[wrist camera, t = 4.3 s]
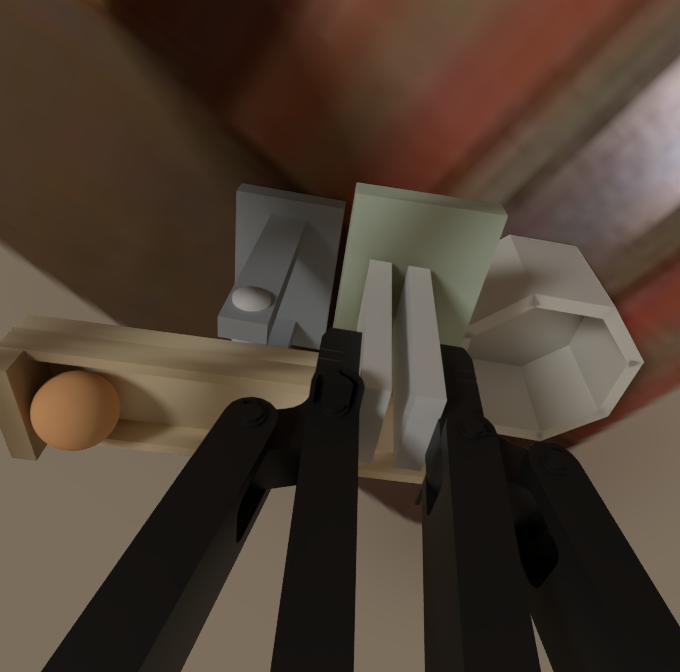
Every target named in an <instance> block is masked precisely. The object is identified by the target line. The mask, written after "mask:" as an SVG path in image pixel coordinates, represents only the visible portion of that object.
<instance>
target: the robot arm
mask: <svg viewBox="0 0 680 672" xmlns="http://www.w3.org/2000/svg"><path fill="white" fill-rule="evenodd" d="M474 372H475V370H474V365H473V360H472V358H471V357H470V356H469V354H468V353H467V352H466V350H465V349H464V348H463V347H457V346H450V345H444V344H440V342H439V334H438V327H437V319H436V311H435V304H434V296H433V288H432V280H431V273H430V269H426V268H420V267H414V266H408V270H407V274H406V278H405V282H404V286H403V290H402V294H401V298H400V302H399V306H398V310H397V314H396V317H395V321H394V325H393V467H397V468H404V469H410V470H417V471H421V469H422V466H423V463H424V461H425V463H426V474H425V477H424V480H423V482H422V485H421V487H420V490H419V493H418V495H417V498H416V502H415V505H419V504H420V502H421V499H422V535H423V536H422V537H423V589H424V590H423V591H424V644H425V672H541V669H540V664H539V658H538V653H537V647H536V642H535V637H534V631H533V626H532V620H531V616H532V619H533V621H534V624H535V626H536V628H537V631H538V634H539V636H540V639H541V641H542V644H543V646H544V649H545V651H546V654H547V656H548V659H549V661H550V664H551V666H552V669H553V671H554V672H680V626H679V625H678V623H677V621H676V620H675V618H674V617H673V615H672V614H671V612H670V610H669V608H668V607H667V605H666V603H665V602H664V600H663V598H662V597H661V595H660V594H659V592H658V591H657V589H656V587H655V585H654V584H653V582H652V581H651V579H650V577H649V576H648V574H647V572H646V571H645V569H644V568H643V566H642V564H641V563H640V561H639V559H638V558H637V556H636V554H635V553H634V551H633V549H632V548H631V546H630V545H629V543H628V541H627V540H626V538H625V536H624V535H623V533H622V532H621V530H620V528H619V527H618V525H617V523H616V522H615V520H614V518H613V517H612V515H611V514H610V512H609V510H608V509H607V507H606V505H605V504H604V502H603V500H602V499H601V497H600V496H599V494H598V492H597V491H596V489H595V487H594V486H593V484H592V482H591V481H590V479H589V477H588V476H587V474H586V473H585V471H584V469H583V468H582V466H581V464H580V463H579V462H578V460H577V459H576V458H575V457H574V456H573V455H572V454H571V453H570V452H569V451H567V450H566V449H564V448H563V447H560V446H558V445H556V444H553V443H547V442H540V443H535V444H534V445H533V446H531V447H530V448H529V450H526V449H524V448H522V447H519V446H517V445H514V444H512V443H510V442H508V441H506V440H504V439H502V438H501V437H499V436H498V435H497V432H496V430H495V427H494V426H493V424H492V423H491V422H490V421H489V420H488V419H487V418H485V417H484V413H483V408H482V404H481V399H480V394H479V389H478V384H477V383H476V382H477V379H476V375H475V373H474ZM391 392H392V263H390V262H384V261H377V260H371V259H370V263H369V268H368V273H367V278H366V283H365V288H364V293H363V298H362V303H361V308H360V313H359V318H358V324H357V331H351V330H345V329H339V328H332V327H330V328H329V329H328V330H327V331H326V332H325V333H324V335H323V336H322V339H321V344H320V350H319V355H318V360H317V365H316V370H315V373H314V375H313V377H312V379H311V386H310V393H309V397H308V398H307V400H306V401H304V402H303V403H301V404H300V405H297V406H295V407H291V408H285V409H276V408H275V407H274V406H273V405H272V404H271V403H270V402H268V401H266V400H264V399H262V398H257V397H244V398H240V399H237V400H235V401H233V402H231V403H230V404H229V405H228V406H227V407H226V408H225V410H224V411H223V413H222V414H221V415H220V417H219V418H218V420H217V421H216V423H215V424H214V425H213V427H212V428H211V430H210V431H209V433H208V434H207V435H206V437H205V438H204V440H203V441H202V443H201V444H200V445H199V447H198V448H197V450H196V451H195V453H194V454H193V455H192V457H191V458H190V460H189V461H188V463H187V464H186V465H185V467H184V468H183V470H182V471H181V473H180V474H179V475H178V477H177V478H176V480H175V481H174V483H173V484H172V485H171V487H170V488H169V490H168V491H167V492H166V494H165V495H164V497H163V498H162V500H161V501H160V503H159V504H158V505H157V507H156V508H155V510H154V511H153V513H152V514H151V515H150V517H149V518H148V520H147V521H146V523H145V524H144V525H143V527H142V528H141V530H140V531H139V533H138V534H137V535H136V537H135V538H134V540H133V541H132V543H131V544H130V546H129V547H128V548H127V550H126V551H125V552H124V554H123V555H122V557H121V558H120V560H119V561H118V562H117V564H116V565H115V567H114V568H113V570H112V571H111V573H110V574H109V575H108V577H107V578H106V580H105V581H104V583H103V584H102V586H101V587H100V588H99V590H98V591H97V592H96V594H95V595H94V597H93V598H92V600H91V601H90V602H89V604H88V605H87V607H86V608H85V610H84V611H83V612H82V614H81V615H80V617H79V618H78V620H77V621H76V622H75V624H74V625H73V627H72V628H71V630H70V631H69V632H68V634H67V635H66V637H65V638H64V640H63V641H62V642H61V644H60V645H59V647H58V648H57V650H56V651H55V653H54V654H53V655H52V657H51V658H50V660H49V661H48V662H47V664H46V666H45V667H44V668H43V670H42V671H41V672H181V670H182V668H183V666H184V664H185V662H186V660H187V658H188V656H189V654H190V652H191V650H192V648H193V646H194V644H195V642H196V640H197V638H198V636H199V634H200V631H201V630H202V628H203V625H204V624H205V622H206V619H207V617H208V615H209V613H210V611H211V609H212V607H213V605H214V603H215V601H216V599H217V597H218V595H219V593H220V591H221V589H222V587H223V585H224V583H225V581H226V579H227V577H228V575H229V573H230V571H231V569H232V567H233V565H234V563H235V561H236V559H237V557H238V555H239V553H240V551H241V549H242V547H243V545H244V543H245V541H246V539H247V536H248V535H249V533H250V531H251V529H252V527H253V525H254V523H255V521H256V519H257V517H258V515H259V513H260V511H261V509H262V507H263V505H264V502H265V500H266V499H267V496H268V494H269V492H270V490H271V489H272V488H278V487H287V486H293V485H296V492H295V499H294V506H293V513H292V520H291V528H290V535H289V542H288V549H287V556H286V563H285V571H284V578H283V584H282V585H283V586H282V592H281V599H280V606H279V613H278V620H277V627H276V635H275V642H274V649H273V656H272V663H271V670H270V672H354V632H355V587H356V543H357V499H358V462H365V463H371V464H372V461H373V457H374V454H375V450H376V446H377V443H378V439H379V435H380V432H381V428H382V425H383V421H384V417H385V414H386V410H387V407H388V403H389V399H390V396H391ZM530 614H531V615H530Z"/></svg>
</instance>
